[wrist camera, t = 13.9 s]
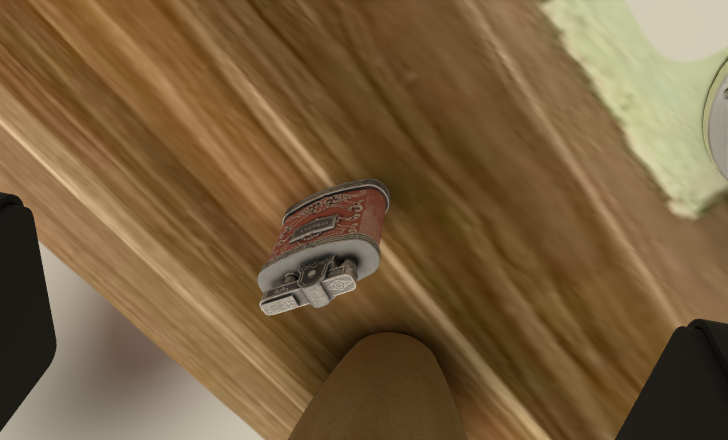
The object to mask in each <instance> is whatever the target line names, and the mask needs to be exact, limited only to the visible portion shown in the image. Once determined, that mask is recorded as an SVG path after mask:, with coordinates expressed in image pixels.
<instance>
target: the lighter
mask: <svg viewBox="0 0 728 440" xmlns="http://www.w3.org/2000/svg"><path fill="white" fill-rule="evenodd" d="M389 203H390V194H389V191H388V189H387V187H386V186H385V185H384V184H383V183H382V182H380V181H379V180H376V179H364V180H358V181H352V182H347V183H343V184H340V185H336V186H333V187H330V188H326V189H324V190H322V191H319V192H317V193H315V194H313V195H311V196H308V197H306V198H305V199H303V200H301V201H300V202H298V203H296V204H295V205H293V206H292V207H290V208H289V209H288V210H287V211H286V213H285V215H284V218H283V221H282V229H281V232H280V234H279V236H278V239H277V241H276V244H275V246H274V248H273V251H272V253H271V255H270V258H269V260H268V262H267V263H266V264H265V265H264V266H263V267H262V269H261V271H260V273H259V276H258V285H259V287H260V289H261V291H262V292H263V293H264V294H263V296H262V299H261V301H260V307H261V309H262V310H263V311H264V313H265V314H266V315H274V314H278V313H281V312H284V311H287V310H291V309H294V308H297V307H300V306H304V305H307V304H310V305H313V307H314V308H320V307H323V306H325V305H327V304H329V303H330V302H331V301H332V299H334V298H335V297H336V296H337V295H339V294H343V293H346V292H349V291H352V290H354V289H355V288H356V283H357V281H359V280H361V279H362V278H364V277H366V276H368V275H370V274H372V273H373V272H375V271H376V270H377V268H378V266H379V262H380V252H381V251H380V248H379V244H380V239H381V233H382V227H383V222H384V216H385V213H386V212H387V210H388V208H389Z"/></svg>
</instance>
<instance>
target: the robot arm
mask: <svg viewBox="0 0 728 440" xmlns="http://www.w3.org/2000/svg"><path fill="white" fill-rule="evenodd" d="M726 88H728V61H727V62H726V63H725V65H724V66H723V67H722V69H721V70H720V72H719V74H718V75H717V77H716V79H715V81H714V83H713V85H712V87H711V89H710V92H709V95H708V98H707V102H706V105H705V108H704V117H703V134H704V141H705V146H706V148H707V151H708V153H709V156H710V158H711V160H712V162H713V163H714V165H715V166H716V167H717V169H718V170H719V172H720V173H721V174H722V175H723V176H724V178H725V179H726V180H727V181H728V90H727V91H725V90H726ZM55 352H56V336H55V330H54V325H53V320H52V314H51V309H50V304H49V298H48V292H47V287H46V282H45V276H44V271H43V265H42V261H41V255H40V250H39V244H38V238H37V233H36V227H35V222H34V217H33V214H32V211H31V210H30V209H29V208H27V207H24V205H23V202H22V201H21V199H20V198H19V197H18V196H15V195H13V194H7V193H2V192H0V432H1V430H2V429H3V427H4V426H5V425H6V424H7V422H8V421H9V419H10V418H11V417H12V416H13V414H14V413H15V411H16V410H17V409H18V407H19V406H20V405H21V403H22V402H23V401H24V399H25V398H26V397H27V395H28V394H29V393H30V391H31V390H32V389H33V387H34V386H35V385H36V383H37V382H38V381H39V379H40V378H41V377H42V375H43V374H44V372H45V371H46V370H47V369H48V367H49V366H50V364H51V362H52V360H53V358H54V355H55ZM615 440H728V324H726V323H720V322H715V321H709V320H704V319H695V320H693V321H692V322H690V323H689V325H688V326H687V327H684V326H681V327H678V328H677V329H676V330H675V331H674V333H673V334H672V336H671V338H670V340H669V342H668V344H667V345H666V347H665V349H664V351H663V353H662V355H661V356H660V358H659V360H658V362H657V364H656V365H655V367H654V369H653V371H652V373H651V375H650V376H649V378H648V380H647V382H646V384H645V386H644V387H643V389H642V391H641V393H640V395H639V397H638V398H637V400H636V402H635V404H634V406H633V407H632V409H631V411H630V413H629V415H628V417H627V418H626V420H625V422H624V424H623V426H622V428H621V429H620V431H619V433H618V435H617V437H616V439H615Z"/></svg>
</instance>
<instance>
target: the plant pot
mask: <svg viewBox="0 0 728 440" xmlns="http://www.w3.org/2000/svg"><path fill="white" fill-rule="evenodd" d="M288 440H467V438H466V434H465V431H464V428H463V424H462V421H461V418H460V415H459V412H458V409H457V407H456V404H455V401H454V399H453V396H452V394H451V391H450V389H449V386H448V384H447V382H446V379H445V377H444V375H443V373H442V370H441V368H440V366H439V364H438V362H437V360H436V358H435V356H434V355H433V353H432V352H431V350H430V349H429V348H428V347H427V346H426V345H425V344H423V343H422V342H420V341H419V340H417V339H415V338H413V337H411V336H408V335H405V334H401V333H395V332H382V333H375V334H372V335H369V336H367V337H365V338H363V339H361V340H360V341H358V342H357V343H356V344H355V345H354V346H353V347H352V348H351V350H350V351H349V352H348V353H347V354H346V355H345V357H344V358H343V359H342V360H341V361H340V362H339V364H338V365H337V366H336V367H335V369H334V370H333V371H332V373H331V374H330V375H329V376H328V378H327V379H326V380H325V382H324V383H323V384H322V386H321V387H320V389H319V390H318V392H317V393H316V395H315V396H314V398H313V399H312V401H311V402H310V404H309V405H308V407H307V408H306V410H305V411H304V413H303V415H302V416H301V418H300V420H299V421H298V423H297V425H296V426H295V428H294V430H293V431H292V433H291V435H290V437H289V438H288Z"/></svg>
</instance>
